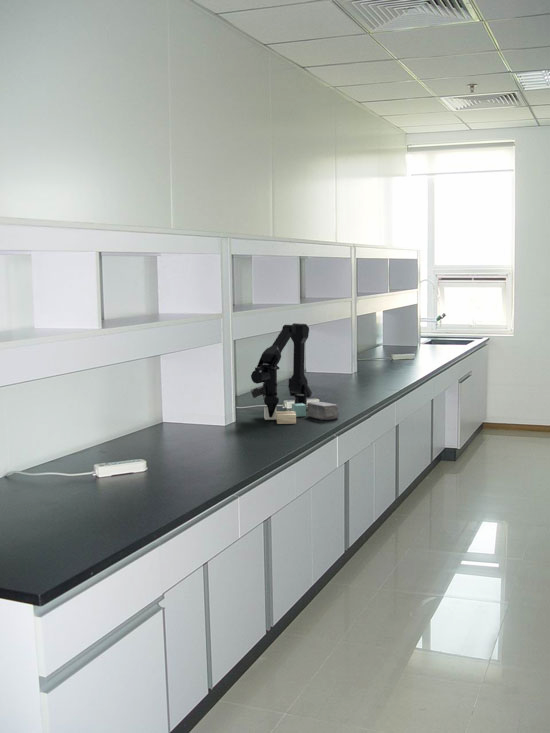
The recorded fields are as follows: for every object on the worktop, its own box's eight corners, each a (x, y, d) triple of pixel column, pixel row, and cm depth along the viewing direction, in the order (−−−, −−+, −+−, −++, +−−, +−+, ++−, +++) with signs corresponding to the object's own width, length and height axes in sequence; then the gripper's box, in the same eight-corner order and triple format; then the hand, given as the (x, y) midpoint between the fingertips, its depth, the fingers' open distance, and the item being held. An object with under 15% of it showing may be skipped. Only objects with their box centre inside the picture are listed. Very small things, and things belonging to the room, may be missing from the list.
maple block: (276, 420, 349) (276, 411, 349) (294, 420, 350) (294, 411, 349) (277, 424, 342) (277, 415, 341) (296, 424, 342) (296, 414, 341)
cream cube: (264, 417, 355) (264, 406, 354) (275, 417, 355) (275, 405, 354) (264, 419, 350) (264, 408, 349) (276, 419, 350) (276, 408, 350)
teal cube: (291, 414, 361) (291, 403, 360) (302, 414, 362) (302, 403, 362) (295, 416, 356) (295, 405, 355) (306, 416, 358) (306, 405, 357)
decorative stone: (333, 422, 345) (342, 417, 354) (332, 406, 344) (342, 402, 353) (302, 419, 352) (311, 414, 361) (301, 404, 351) (311, 399, 360)
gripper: (251, 377, 359) (251, 412, 361) (252, 384, 341) (252, 420, 343) (276, 377, 360) (276, 411, 362) (278, 384, 341) (278, 420, 343)
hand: (270, 415), depth 352 cm, fingers closed on cream cube, 5 cm apart
